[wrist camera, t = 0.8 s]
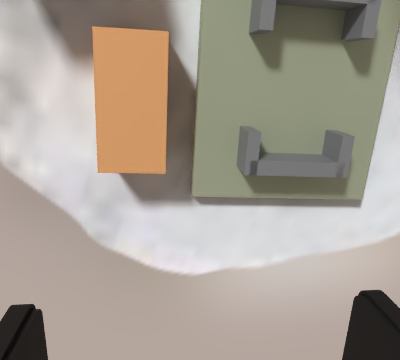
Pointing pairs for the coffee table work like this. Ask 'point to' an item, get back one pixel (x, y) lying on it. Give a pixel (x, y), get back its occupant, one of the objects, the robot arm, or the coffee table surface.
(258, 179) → the green bracket base plate
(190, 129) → the coffee table surface
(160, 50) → the tall tan rectangular prism
